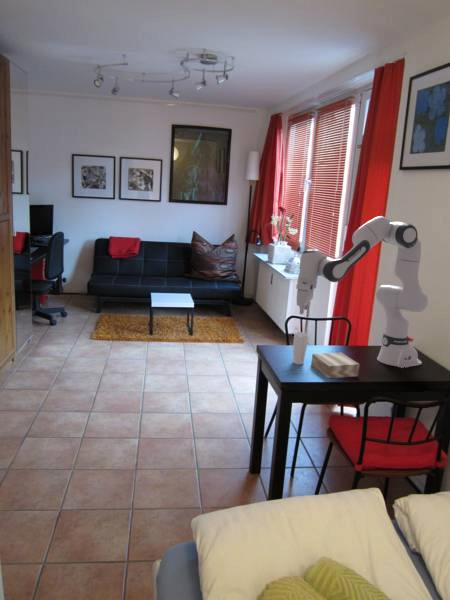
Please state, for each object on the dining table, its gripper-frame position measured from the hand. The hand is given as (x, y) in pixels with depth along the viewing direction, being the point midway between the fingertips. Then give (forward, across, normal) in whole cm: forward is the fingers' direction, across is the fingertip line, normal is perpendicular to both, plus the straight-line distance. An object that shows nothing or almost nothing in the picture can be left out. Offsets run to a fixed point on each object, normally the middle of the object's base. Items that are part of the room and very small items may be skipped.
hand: (303, 311), depth 243 cm
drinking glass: (+26, 0, 0) cm, 26 cm away
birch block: (+26, +1, +18) cm, 32 cm away
